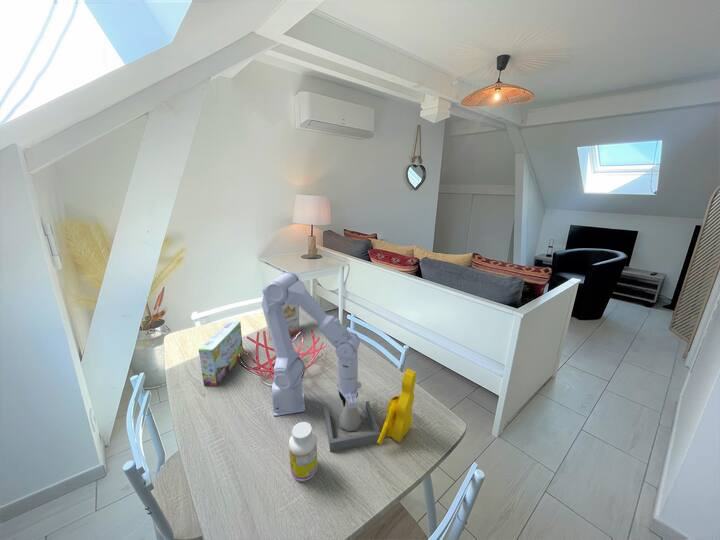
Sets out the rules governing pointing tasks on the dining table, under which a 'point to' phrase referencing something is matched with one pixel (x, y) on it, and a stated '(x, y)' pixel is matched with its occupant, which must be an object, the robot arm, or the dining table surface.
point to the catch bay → (355, 439)
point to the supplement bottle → (303, 452)
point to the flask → (350, 418)
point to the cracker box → (291, 318)
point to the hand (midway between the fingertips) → (347, 410)
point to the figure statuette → (400, 410)
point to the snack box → (221, 353)
